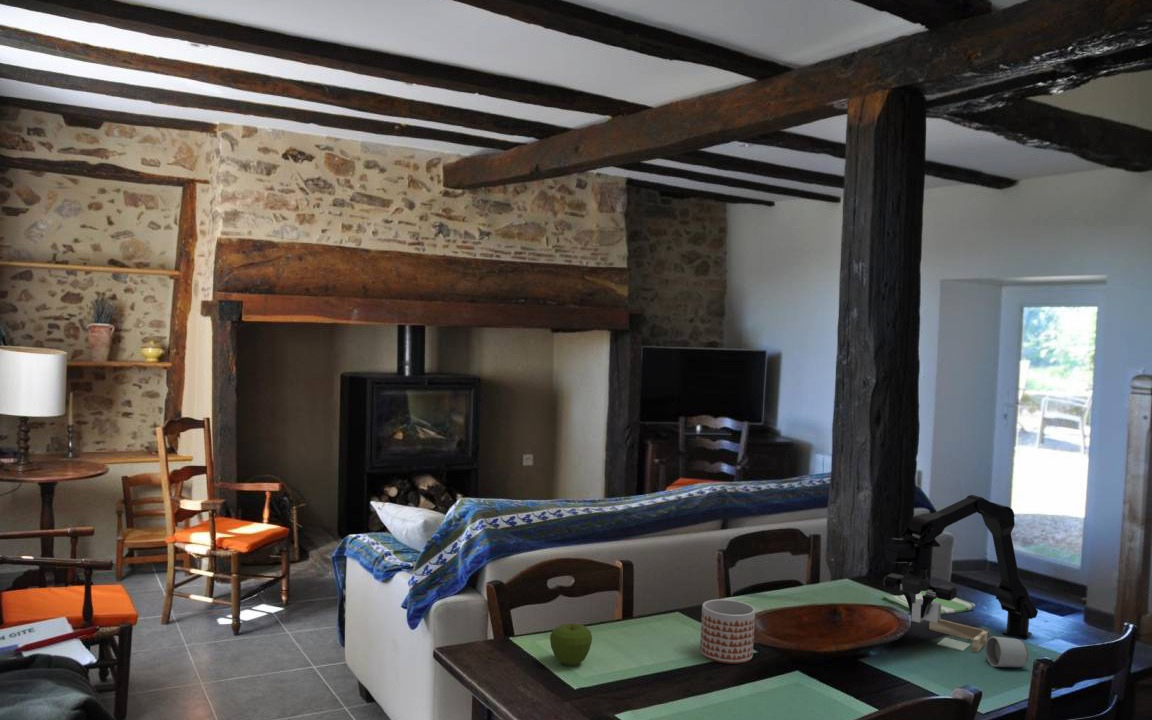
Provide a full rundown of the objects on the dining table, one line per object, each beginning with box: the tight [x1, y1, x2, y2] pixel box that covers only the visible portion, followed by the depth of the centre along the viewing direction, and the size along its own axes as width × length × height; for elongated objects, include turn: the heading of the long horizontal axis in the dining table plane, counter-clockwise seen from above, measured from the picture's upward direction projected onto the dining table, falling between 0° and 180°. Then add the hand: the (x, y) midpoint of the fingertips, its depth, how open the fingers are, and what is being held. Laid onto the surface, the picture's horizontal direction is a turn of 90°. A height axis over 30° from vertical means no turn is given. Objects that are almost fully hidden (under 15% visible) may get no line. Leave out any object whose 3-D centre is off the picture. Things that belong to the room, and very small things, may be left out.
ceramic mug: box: [985, 635, 1029, 668], centre depth 242 cm, size 11×8×8 cm
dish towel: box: [881, 590, 976, 615], centre depth 292 cm, size 18×23×3 cm
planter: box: [699, 598, 756, 665], centre depth 238 cm, size 14×14×13 cm
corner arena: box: [928, 618, 990, 654], centre depth 259 cm, size 11×16×4 cm
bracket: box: [910, 599, 942, 624], centre depth 256 cm, size 6×6×5 cm
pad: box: [936, 637, 972, 652], centre depth 255 cm, size 7×7×1 cm
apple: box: [549, 623, 593, 667], centre depth 227 cm, size 11×10×10 cm
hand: (917, 616), depth 256 cm, fingers closed on bracket, 2 cm apart
